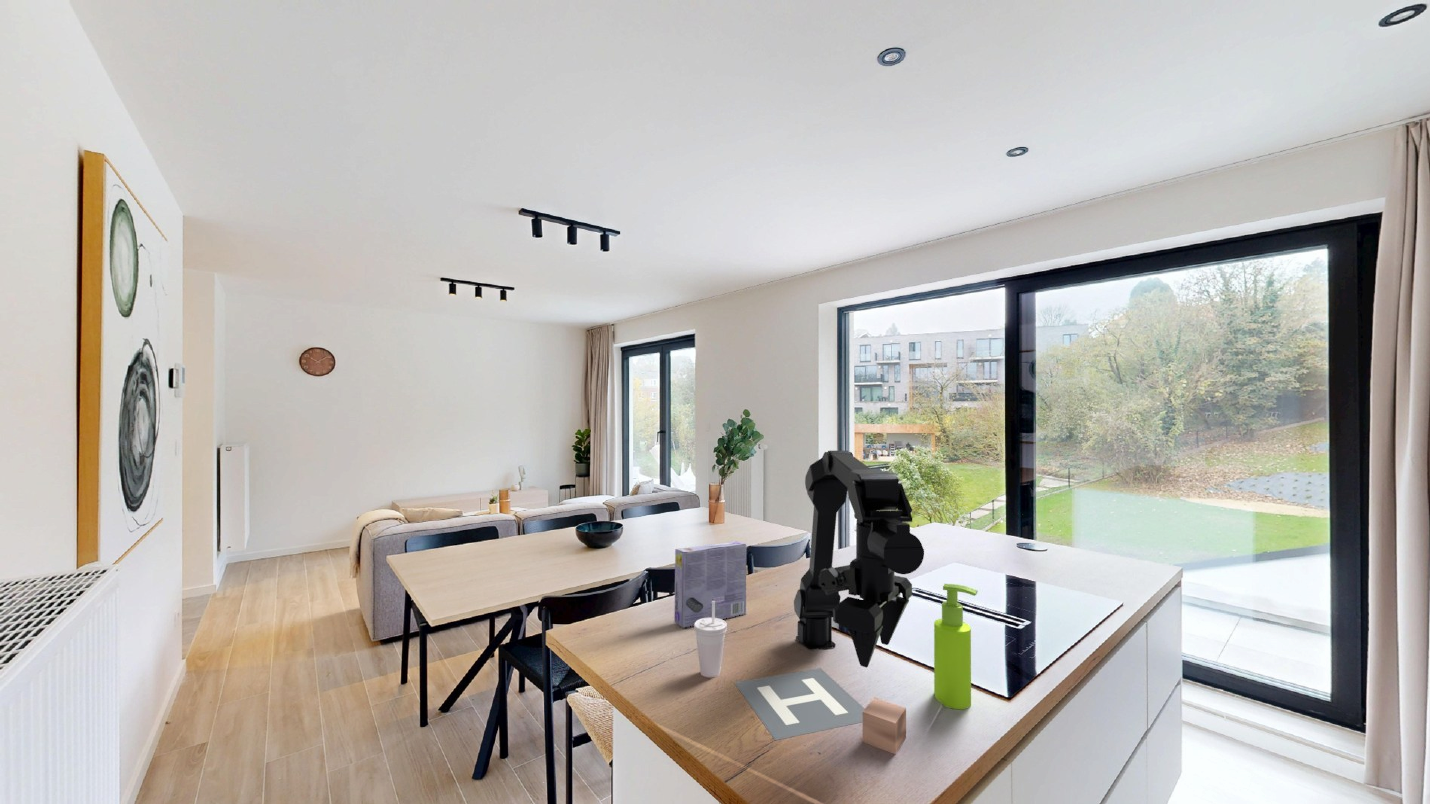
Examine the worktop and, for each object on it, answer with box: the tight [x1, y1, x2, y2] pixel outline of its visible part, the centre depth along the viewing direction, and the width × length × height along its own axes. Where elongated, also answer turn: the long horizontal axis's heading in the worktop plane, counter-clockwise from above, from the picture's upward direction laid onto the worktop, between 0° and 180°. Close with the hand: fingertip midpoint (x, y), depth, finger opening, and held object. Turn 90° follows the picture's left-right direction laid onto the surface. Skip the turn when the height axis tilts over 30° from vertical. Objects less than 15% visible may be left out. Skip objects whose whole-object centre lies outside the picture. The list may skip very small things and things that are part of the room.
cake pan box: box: [673, 541, 748, 629], centre depth 129 cm, size 19×5×18 cm, turn 121°
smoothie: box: [693, 601, 728, 678], centre depth 102 cm, size 6×6×14 cm
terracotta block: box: [861, 697, 907, 755], centre depth 81 cm, size 5×5×5 cm
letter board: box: [733, 667, 866, 741], centre depth 92 cm, size 18×18×1 cm
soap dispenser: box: [933, 583, 979, 710], centre depth 93 cm, size 6×7×20 cm
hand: (874, 654), depth 82 cm, fingers open, 9 cm apart
